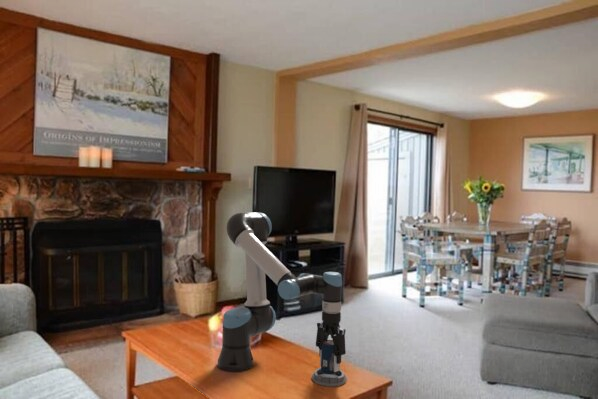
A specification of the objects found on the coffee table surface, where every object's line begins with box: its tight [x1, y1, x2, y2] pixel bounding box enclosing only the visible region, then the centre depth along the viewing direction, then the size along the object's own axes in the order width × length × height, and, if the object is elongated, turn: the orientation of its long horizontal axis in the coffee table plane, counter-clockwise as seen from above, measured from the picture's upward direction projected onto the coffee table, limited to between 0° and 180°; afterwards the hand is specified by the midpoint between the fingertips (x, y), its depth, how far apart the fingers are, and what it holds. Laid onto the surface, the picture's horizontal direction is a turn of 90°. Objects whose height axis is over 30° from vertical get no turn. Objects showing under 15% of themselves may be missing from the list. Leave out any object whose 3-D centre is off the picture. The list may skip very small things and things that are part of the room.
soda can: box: [320, 339, 336, 375], centre depth 192 cm, size 7×7×12 cm
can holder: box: [311, 367, 348, 388], centre depth 192 cm, size 14×14×3 cm
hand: (329, 368), depth 192 cm, fingers closed on soda can, 7 cm apart
